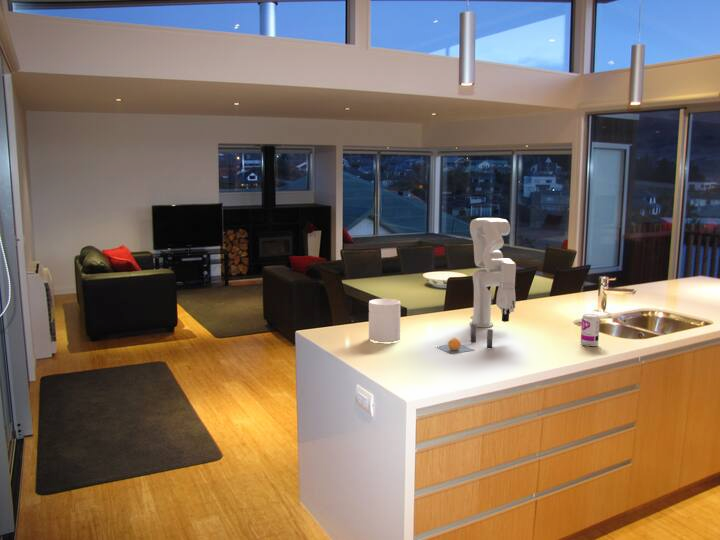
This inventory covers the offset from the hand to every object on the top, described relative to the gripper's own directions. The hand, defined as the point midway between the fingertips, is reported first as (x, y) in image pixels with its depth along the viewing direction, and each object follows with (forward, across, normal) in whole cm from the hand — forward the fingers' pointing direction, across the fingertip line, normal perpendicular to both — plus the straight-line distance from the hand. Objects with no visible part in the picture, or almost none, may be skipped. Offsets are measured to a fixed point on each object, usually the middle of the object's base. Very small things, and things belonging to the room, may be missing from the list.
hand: (505, 321), depth 319 cm
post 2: (+10, +8, -15) cm, 20 cm away
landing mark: (+10, +1, -31) cm, 33 cm away
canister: (+11, -28, -54) cm, 62 cm away
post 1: (+10, -5, -15) cm, 19 cm away
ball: (+7, +4, -33) cm, 34 cm away
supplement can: (+10, +25, +33) cm, 42 cm away
